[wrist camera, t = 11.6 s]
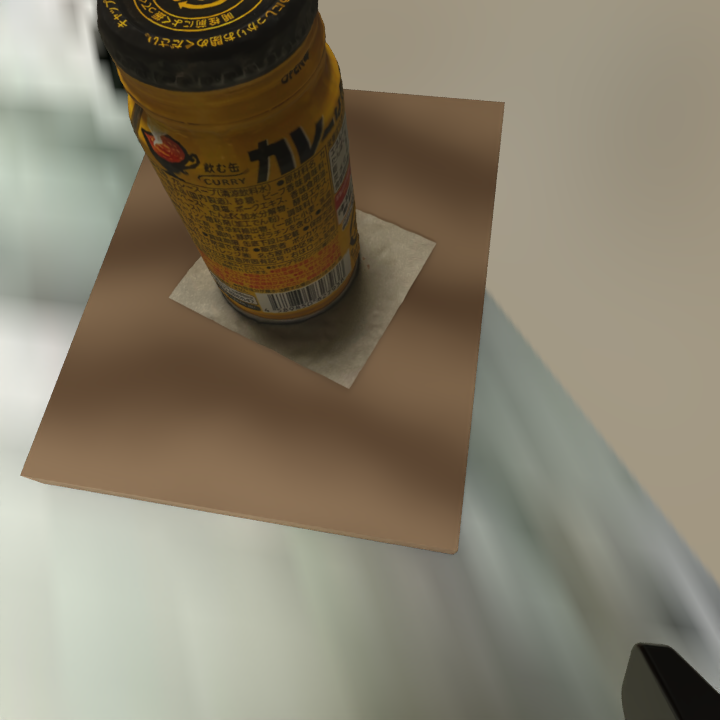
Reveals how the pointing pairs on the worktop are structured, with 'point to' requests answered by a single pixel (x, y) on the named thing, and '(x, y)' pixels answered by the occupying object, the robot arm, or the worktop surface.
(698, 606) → the worktop surface
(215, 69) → the yellow black cylinder
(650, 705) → the robot arm
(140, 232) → the walnut board
